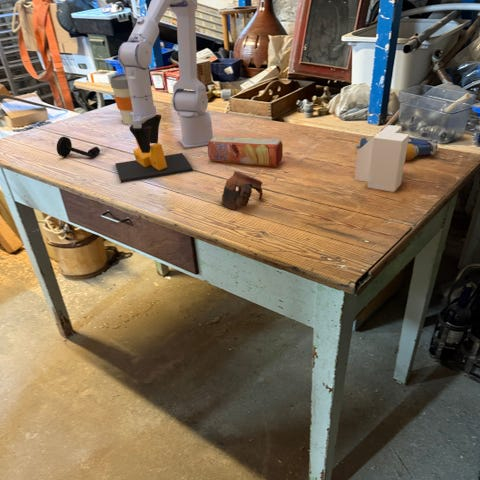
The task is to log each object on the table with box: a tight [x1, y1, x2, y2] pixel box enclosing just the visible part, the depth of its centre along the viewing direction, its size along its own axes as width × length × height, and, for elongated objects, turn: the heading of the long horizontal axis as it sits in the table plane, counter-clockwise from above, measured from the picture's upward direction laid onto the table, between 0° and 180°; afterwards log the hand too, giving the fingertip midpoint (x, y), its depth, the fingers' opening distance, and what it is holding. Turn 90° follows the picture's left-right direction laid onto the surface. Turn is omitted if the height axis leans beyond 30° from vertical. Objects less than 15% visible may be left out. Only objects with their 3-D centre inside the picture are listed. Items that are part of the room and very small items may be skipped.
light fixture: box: [56, 136, 101, 159], centre depth 147 cm, size 6×11×13 cm
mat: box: [115, 152, 194, 183], centre depth 135 cm, size 20×14×1 cm
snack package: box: [207, 136, 284, 168], centre depth 133 cm, size 21×7×7 cm, turn 67°
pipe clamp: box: [132, 137, 167, 170], centre depth 133 cm, size 12×4×6 cm, turn 33°
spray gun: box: [355, 135, 439, 162], centre depth 133 cm, size 21×4×15 cm
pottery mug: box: [221, 170, 263, 211], centre depth 111 cm, size 12×10×8 cm
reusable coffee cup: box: [109, 73, 133, 126], centre depth 170 cm, size 13×13×15 cm
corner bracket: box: [354, 124, 410, 193], centre depth 116 cm, size 11×11×12 cm
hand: (150, 147), depth 131 cm, fingers open, 7 cm apart
